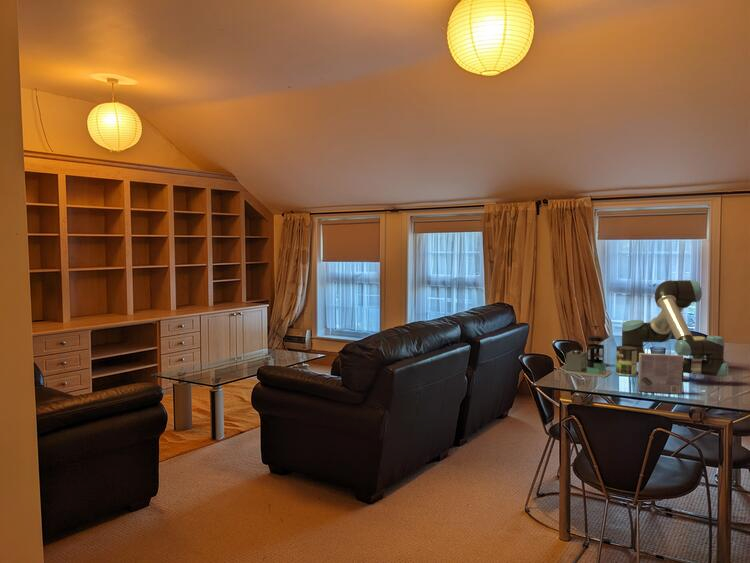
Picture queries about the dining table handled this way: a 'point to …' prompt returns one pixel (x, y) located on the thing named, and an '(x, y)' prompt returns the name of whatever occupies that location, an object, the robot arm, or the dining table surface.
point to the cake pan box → (660, 373)
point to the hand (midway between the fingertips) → (646, 361)
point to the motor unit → (583, 365)
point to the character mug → (698, 339)
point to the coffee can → (626, 360)
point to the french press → (595, 350)
